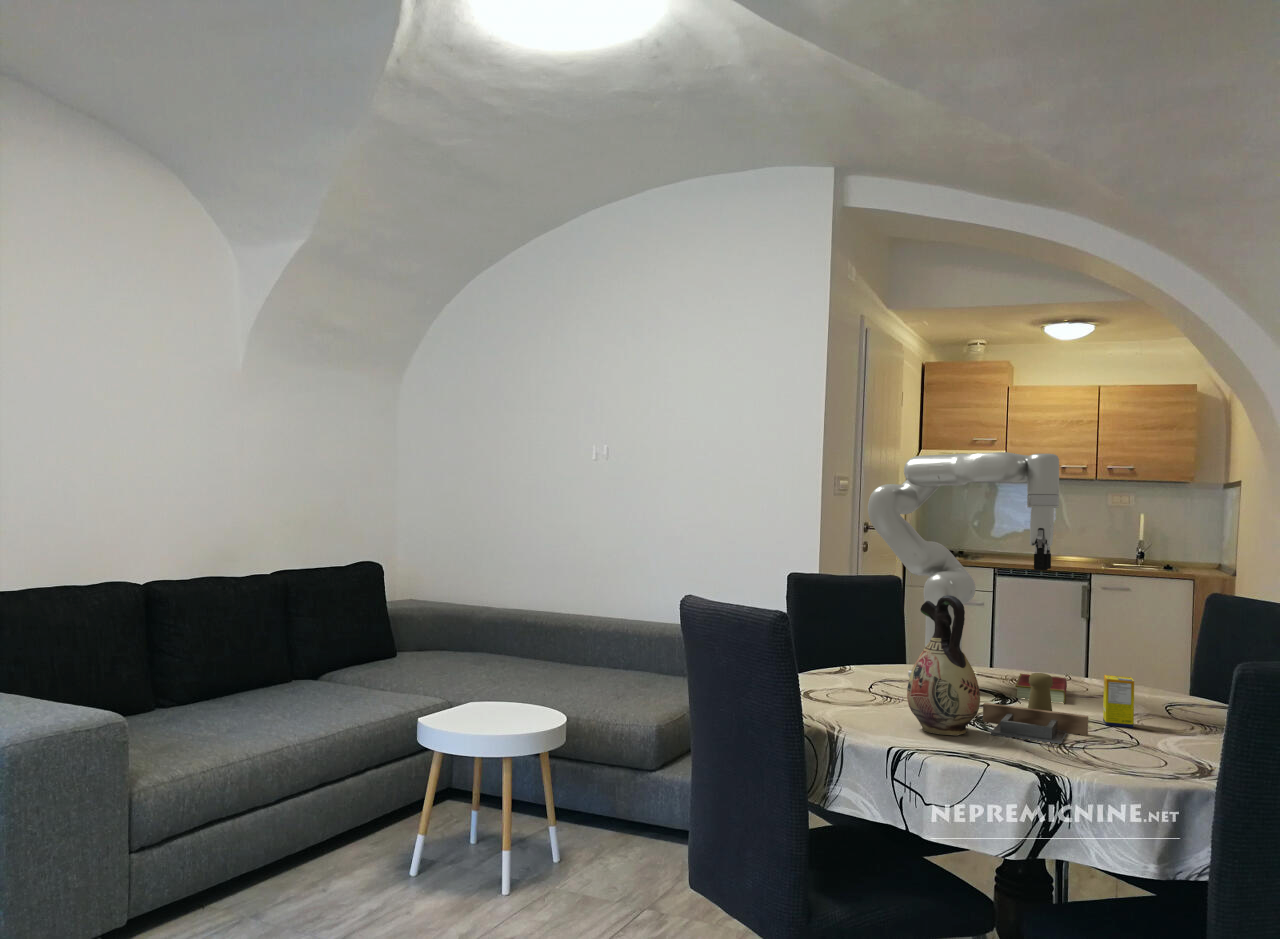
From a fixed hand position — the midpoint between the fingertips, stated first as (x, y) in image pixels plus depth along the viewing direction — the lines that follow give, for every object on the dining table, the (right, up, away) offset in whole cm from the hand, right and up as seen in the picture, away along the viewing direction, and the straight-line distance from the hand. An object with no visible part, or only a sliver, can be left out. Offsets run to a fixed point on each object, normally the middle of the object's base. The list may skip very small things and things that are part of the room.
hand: (1042, 569), depth 252 cm
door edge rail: (-13, -33, -28) cm, 46 cm away
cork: (-9, -34, -21) cm, 40 cm away
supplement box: (+9, -34, -21) cm, 41 cm away
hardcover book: (+5, -36, +13) cm, 38 cm away
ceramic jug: (-36, -32, -36) cm, 60 cm away
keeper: (-17, -33, -35) cm, 51 cm away
